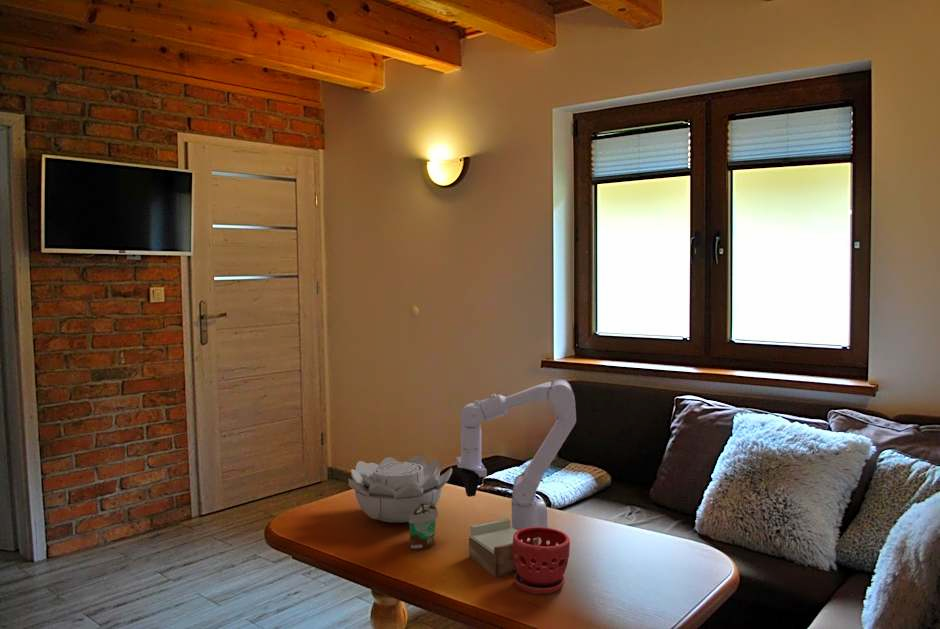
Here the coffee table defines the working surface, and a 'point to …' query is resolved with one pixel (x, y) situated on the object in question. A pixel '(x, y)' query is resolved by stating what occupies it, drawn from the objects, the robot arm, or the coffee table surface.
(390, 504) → the decorative bowl
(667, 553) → the coffee table surface
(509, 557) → the box
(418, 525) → the food container
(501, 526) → the lid
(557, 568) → the plant pot
